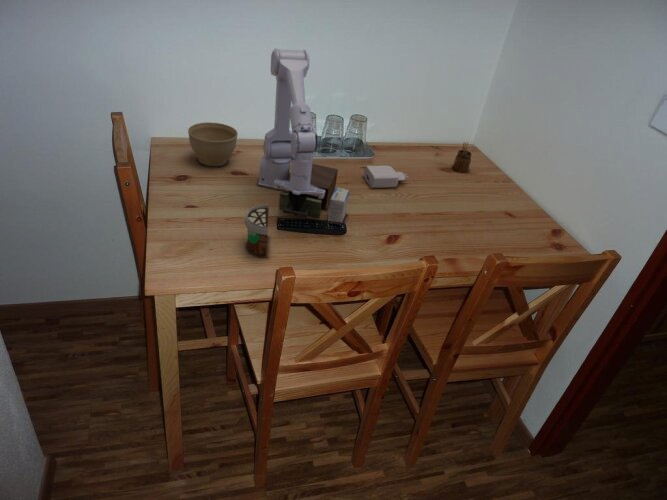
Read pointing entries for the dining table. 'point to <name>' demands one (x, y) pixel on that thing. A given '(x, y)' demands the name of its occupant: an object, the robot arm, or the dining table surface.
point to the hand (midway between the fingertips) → (296, 213)
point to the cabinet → (323, 181)
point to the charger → (382, 176)
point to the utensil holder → (462, 159)
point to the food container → (257, 229)
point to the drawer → (308, 208)
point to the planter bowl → (212, 142)
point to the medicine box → (338, 205)
